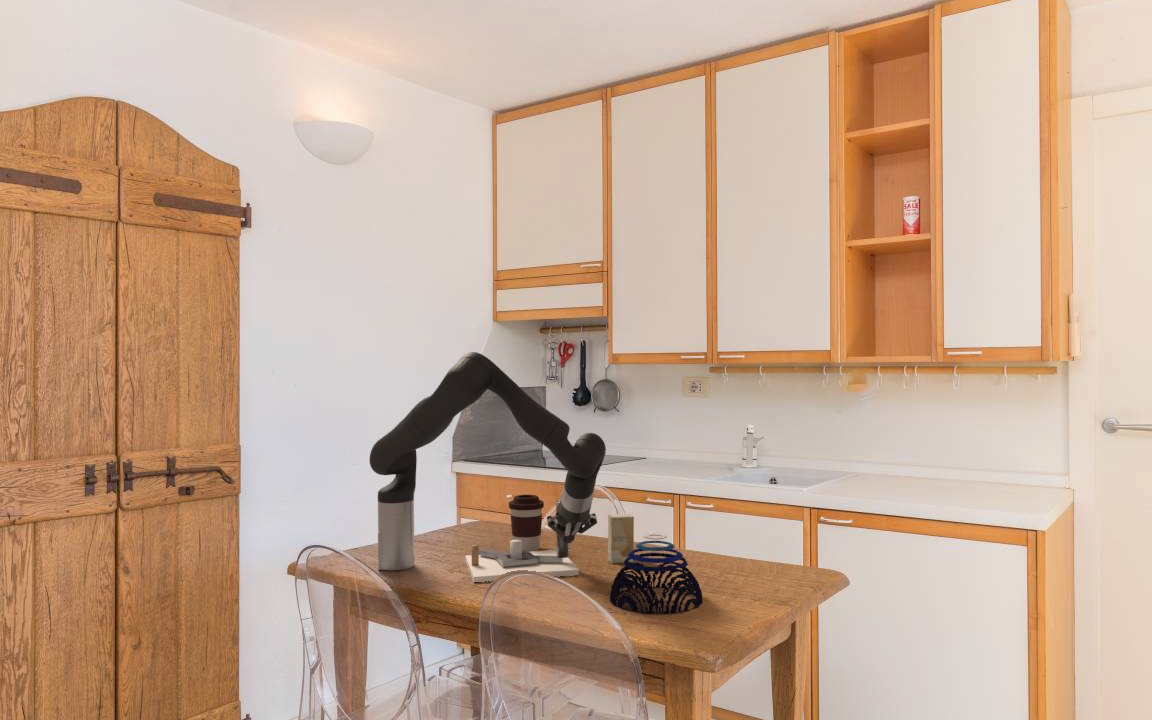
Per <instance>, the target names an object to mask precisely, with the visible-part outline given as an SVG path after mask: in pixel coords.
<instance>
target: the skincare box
mask: <svg viewBox="0 0 1152 720" xmlns="http://www.w3.org/2000/svg"><path fill="white" fill-rule="evenodd" d="M607 517H608V518H607V519H608V521H607V523H608V525H607V561H609V562H610V564H624V561H625V560H626V558H628V554H629V553H631V552H632V551H633V550H635V548H634V547H635V545H634V536H635V534H634V533H635V531H634V530H635V525H634V524H635V516H633V514H631V513H616V514H615V513H613V514H612V513H611V514H608V515H607ZM629 562H631V563H634V560H633V559H630V560H629Z"/></svg>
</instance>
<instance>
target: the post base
mask: <svg viewBox="0 0 1152 720" xmlns="http://www.w3.org/2000/svg"><path fill="white" fill-rule="evenodd" d="M479 547H480V546H479V544H472V545H471V554H467V555H465V564H466V565H467V568H468V572H469V574H471V575H470V577H471V580H472V582H482V583H492V581H493V580H494V579H496V578H497V577H499V576H501V575H502V574H505V573H507V572H511V571H517V570H528V571H536V572H542V573H547V574H549V575H554V576H557V577H556V578H561V577H560V576H566V577H575V576H574V575H579V576H580V569H579V568H578V567H577V566H576V565H575V563H573V561H572V560H571V559H570V558H569V556H568V557H567V558H563V562H538V564H527V565H516V566H505V567H503V566H502V565H501V564H500V563H499V562H498V561H497V560H496V559H495V558H491V557H486V556H481V555H479V550H480V548H479ZM529 552H530V553H532V554H533V555H543V556H557V549H545V550H536V551H529ZM509 553H510V559H518V558H522V541H521V540H513V539H512V540H510V541H509ZM485 581H487V582H485ZM488 581H490V582H488Z"/></svg>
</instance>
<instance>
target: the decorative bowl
mask: <svg viewBox="0 0 1152 720" xmlns="http://www.w3.org/2000/svg"><path fill="white" fill-rule="evenodd" d="M654 536H655V537H654ZM643 538H644V539H648V540H644V541H641V542H638V543H637V544H635V548H634V550H633V551H632V552H631V553H629V554H628V558H626V560H625V561H624V563H623V564H624V566H623V567H621V569H619V572H617V573H616V576H615V577H614V579H613V583H612V585H611V587H610V588H611V589H610V593H609V601H610V603H611V605H612V606H615V607H616V608H618V609H620V610H623V611H627V612H630V613H631V612H632V613H637V614H641V615H642V614H644V615H675V614H678V613H679V614H680V613H687V612H689V611H692V610H696V609H698V608H700V606H701V605H702V604H703V592H702V591H703V590H702V589H701V587H700V583H699V582H698V580H697V578H696V576H695V575H694V574H693V572H692V570H691V571H690V569H689V568H688V567H687V566H689V563H688V561H687V560H686V558H685V557H684V555H683V553H682V552H680V551H679V550H677V549H675V544H673V543H672V542H669V541H664V539H667V538H668V535H666V534H664V533H654V532H653V533H647V534H644V535H643ZM644 544H662V545H663V544H664V545H666V546H663V547H662V546H661V547H659V546H658V547H657V546H654V547H653V546H645V545H644ZM646 551H647V552H646ZM649 551H650V552H649ZM638 552H645V553H639V554H638ZM661 552H662V553H661ZM665 552H670V553H671V554H670V553H665ZM636 553H637V554H636ZM673 553H674V554H673ZM630 559H633V561H636V562H631V563H630V562H629V560H630ZM677 561H682V562H681V563H680V562H677ZM640 562H641V563H640ZM643 563H648V564H649V563H651V564H659V565H657V566H645V564H643ZM642 571H643V572H642ZM650 572H653V573H652V576H651V573H650ZM666 572H668V574H666V576H665V577H664V574H665V573H666ZM679 572H680V574H676V575H675V576H673V574H675V573H679ZM643 573H644V574H643ZM658 575H659V576H658ZM644 576H645V577H646V579H645V577H644ZM663 577H664V580H663V581H662V579H663ZM669 579H670V580H669ZM680 579H681V580H680ZM656 580H657V582H656ZM668 580H669V581H668ZM676 580H677V581H676ZM655 582H656V583H655ZM661 588H662V589H663V590H662V593H661V596H660V599H658V596H657V592H656V591H655V590H654V589H661ZM631 590H634V592H632V591H631ZM669 591H670V592H669ZM676 591H677V594H676V596H675V598H674V599H673V596H674V595H675V593H676ZM624 593H627V594H624ZM628 594H631V595H628ZM637 594H638V595H639V596H638V595H637ZM690 595H692V596H693V597H692V598H690V599H686V597H687V596H690ZM643 596H644V597H643ZM667 596H668V597H667ZM639 597H640V598H639ZM634 598H635V599H636V600H635V599H634ZM666 598H667V600H666ZM672 599H673V600H672ZM685 599H686V601H685ZM665 600H666V601H665ZM684 601H685V603H684ZM637 603H638V604H637ZM642 603H643V604H644V606H643V605H642ZM665 603H666V604H665ZM671 603H672V604H671ZM683 603H684V608H683V610H682V606H683ZM625 604H627V605H628V607H629V608H630V609H627V608H624V607H623V606H625ZM691 604H692V605H693V607H692V608H690V606H691ZM638 605H639V606H638ZM647 605H648V606H647ZM689 608H690V609H689ZM639 609H640V610H639ZM664 609H665V610H664Z"/></svg>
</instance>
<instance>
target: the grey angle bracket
mask: <svg viewBox="0 0 1152 720" xmlns="http://www.w3.org/2000/svg"><path fill="white" fill-rule="evenodd" d="M559 505H560V500H557V501H556V505H555V510H556V513H557V512H558V510H559ZM556 513H555V514H556ZM559 523H560V522H559ZM560 524H561V523H560ZM561 525H562V524H561ZM562 526H563V525H562ZM562 535H563V534H562ZM562 535H559V534H557V533H556V550H557V556H543V555H533V554H532V553H530V552H529V551H522V558H518V559H510V552H504V551H499V550H494V549H487V548H481V549H479V555H481V556H486V557H491V558H495V559H496V560H497V561H498V562H499V563H500V564H501V565H502V566H503V567H505V566H516V565H527V564H538V562H563V558H567V557H568V558H569V543H565V542H564V541H563V537H562Z"/></svg>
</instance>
